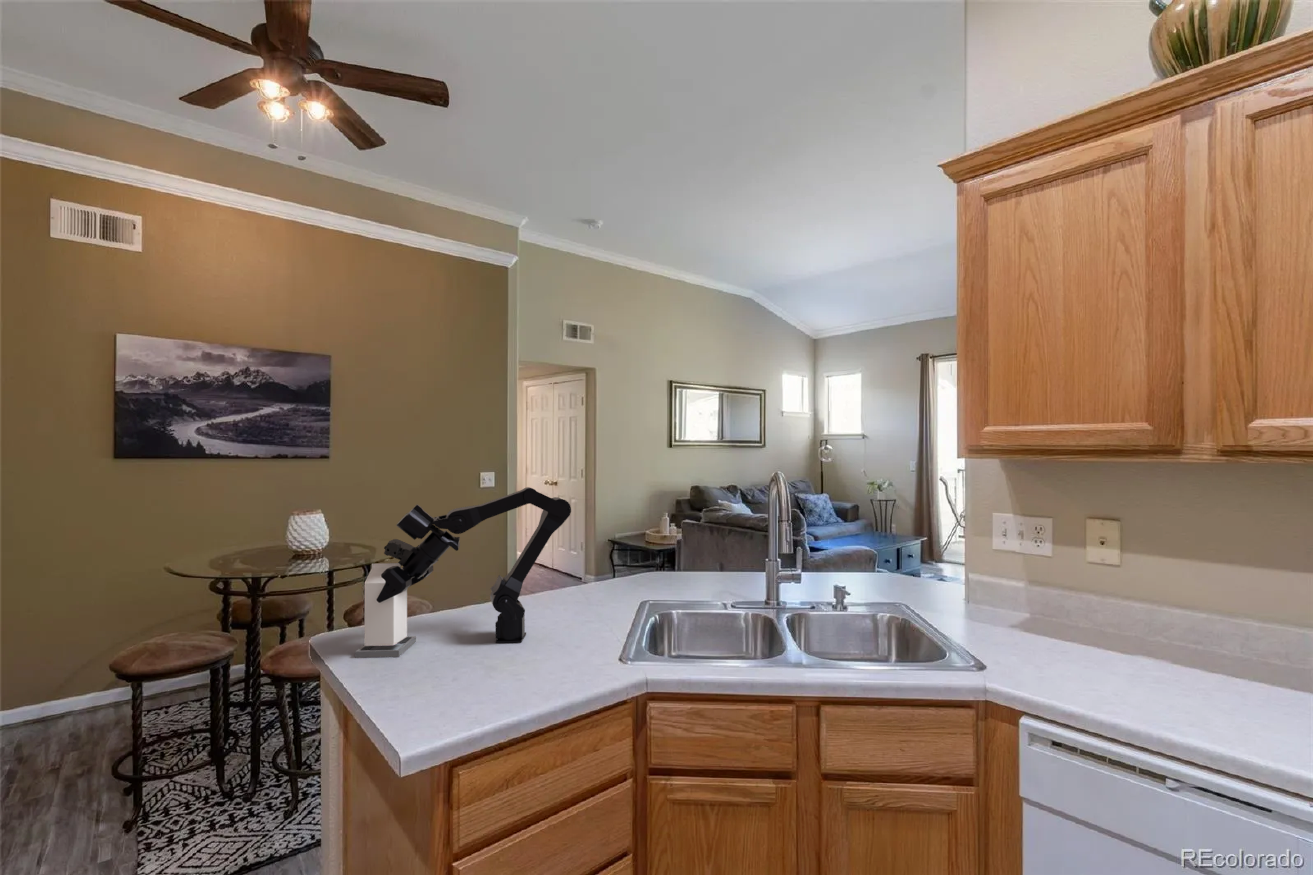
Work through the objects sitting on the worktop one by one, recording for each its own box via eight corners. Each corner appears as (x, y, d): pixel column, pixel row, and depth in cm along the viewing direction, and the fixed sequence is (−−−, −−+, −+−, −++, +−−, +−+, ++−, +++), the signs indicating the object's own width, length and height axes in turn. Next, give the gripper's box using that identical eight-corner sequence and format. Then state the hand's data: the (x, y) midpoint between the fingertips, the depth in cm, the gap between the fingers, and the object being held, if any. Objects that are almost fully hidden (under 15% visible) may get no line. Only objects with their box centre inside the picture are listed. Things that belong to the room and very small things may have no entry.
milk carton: (393, 646, 137) (393, 565, 138) (364, 646, 137) (364, 566, 138) (407, 637, 144) (407, 560, 145) (379, 638, 145) (379, 561, 146)
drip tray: (415, 642, 147) (415, 636, 147) (398, 657, 136) (398, 650, 136) (375, 643, 146) (375, 637, 146) (355, 658, 136) (355, 651, 136)
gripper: (420, 523, 151) (378, 566, 151) (389, 534, 132) (341, 583, 132) (451, 552, 151) (409, 595, 151) (424, 567, 133) (376, 617, 132)
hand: (385, 597), depth 142 cm, fingers closed on milk carton, 7 cm apart
